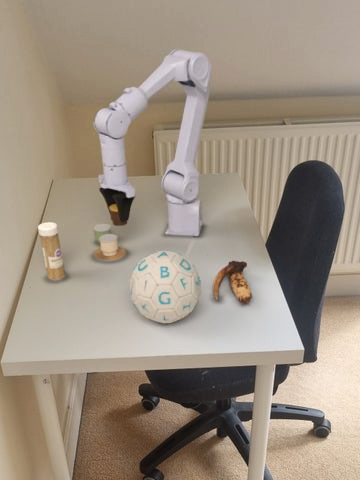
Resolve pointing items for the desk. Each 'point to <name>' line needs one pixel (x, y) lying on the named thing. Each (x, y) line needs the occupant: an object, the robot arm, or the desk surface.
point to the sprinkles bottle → (51, 250)
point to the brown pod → (116, 216)
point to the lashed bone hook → (234, 281)
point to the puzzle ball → (165, 287)
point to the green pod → (101, 230)
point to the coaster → (120, 253)
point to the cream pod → (109, 244)
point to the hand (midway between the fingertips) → (119, 217)
